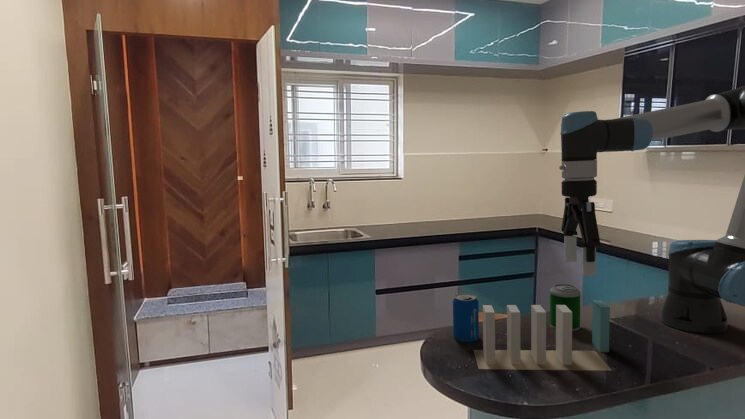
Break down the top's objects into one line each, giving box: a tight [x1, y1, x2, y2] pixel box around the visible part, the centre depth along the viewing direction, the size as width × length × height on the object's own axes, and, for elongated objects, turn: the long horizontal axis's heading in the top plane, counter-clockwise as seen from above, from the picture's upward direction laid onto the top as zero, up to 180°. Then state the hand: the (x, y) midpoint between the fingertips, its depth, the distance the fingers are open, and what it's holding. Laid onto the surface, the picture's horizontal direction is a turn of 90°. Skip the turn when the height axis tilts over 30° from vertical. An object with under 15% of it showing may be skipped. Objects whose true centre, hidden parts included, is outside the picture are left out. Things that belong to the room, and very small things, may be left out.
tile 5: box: [482, 304, 496, 364], centre depth 104 cm, size 2×5×12 cm, turn 174°
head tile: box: [591, 299, 611, 353], centre depth 108 cm, size 2×5×12 cm, turn 174°
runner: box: [473, 349, 613, 372], centre depth 103 cm, size 28×10×1 cm, turn 84°
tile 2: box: [555, 305, 573, 365], centre depth 102 cm, size 2×5×12 cm, turn 174°
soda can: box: [549, 283, 581, 332], centre depth 122 cm, size 8×8×12 cm
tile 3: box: [530, 304, 547, 365], centre depth 103 cm, size 2×5×12 cm, turn 174°
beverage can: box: [452, 292, 480, 343], centre depth 117 cm, size 6×6×12 cm
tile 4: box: [506, 304, 521, 364], centre depth 103 cm, size 2×5×12 cm, turn 174°
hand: (579, 268), depth 108 cm, fingers open, 13 cm apart
